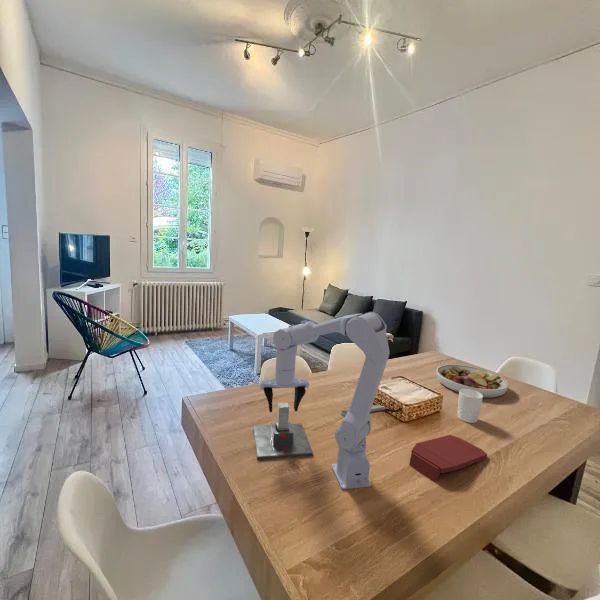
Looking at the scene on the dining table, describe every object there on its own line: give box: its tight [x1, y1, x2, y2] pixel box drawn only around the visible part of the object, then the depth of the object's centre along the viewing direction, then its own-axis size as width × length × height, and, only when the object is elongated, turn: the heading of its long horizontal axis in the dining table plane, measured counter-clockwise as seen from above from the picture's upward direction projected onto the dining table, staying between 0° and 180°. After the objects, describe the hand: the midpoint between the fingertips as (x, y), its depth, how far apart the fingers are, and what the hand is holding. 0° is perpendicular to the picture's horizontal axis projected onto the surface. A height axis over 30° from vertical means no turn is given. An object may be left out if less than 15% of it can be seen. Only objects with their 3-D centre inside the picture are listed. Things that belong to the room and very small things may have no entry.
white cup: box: [457, 389, 484, 424], centre depth 125 cm, size 8×8×10 cm
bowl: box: [435, 364, 509, 399], centre depth 157 cm, size 30×30×8 cm
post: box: [276, 402, 290, 432], centre depth 103 cm, size 3×3×8 cm
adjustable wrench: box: [340, 404, 386, 417], centre depth 128 cm, size 25×6×2 cm, turn 108°
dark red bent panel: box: [408, 434, 488, 483], centre depth 100 cm, size 12×5×25 cm
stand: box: [253, 421, 314, 461], centre depth 104 cm, size 16×16×4 cm
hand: (283, 410), depth 102 cm, fingers open, 7 cm apart
